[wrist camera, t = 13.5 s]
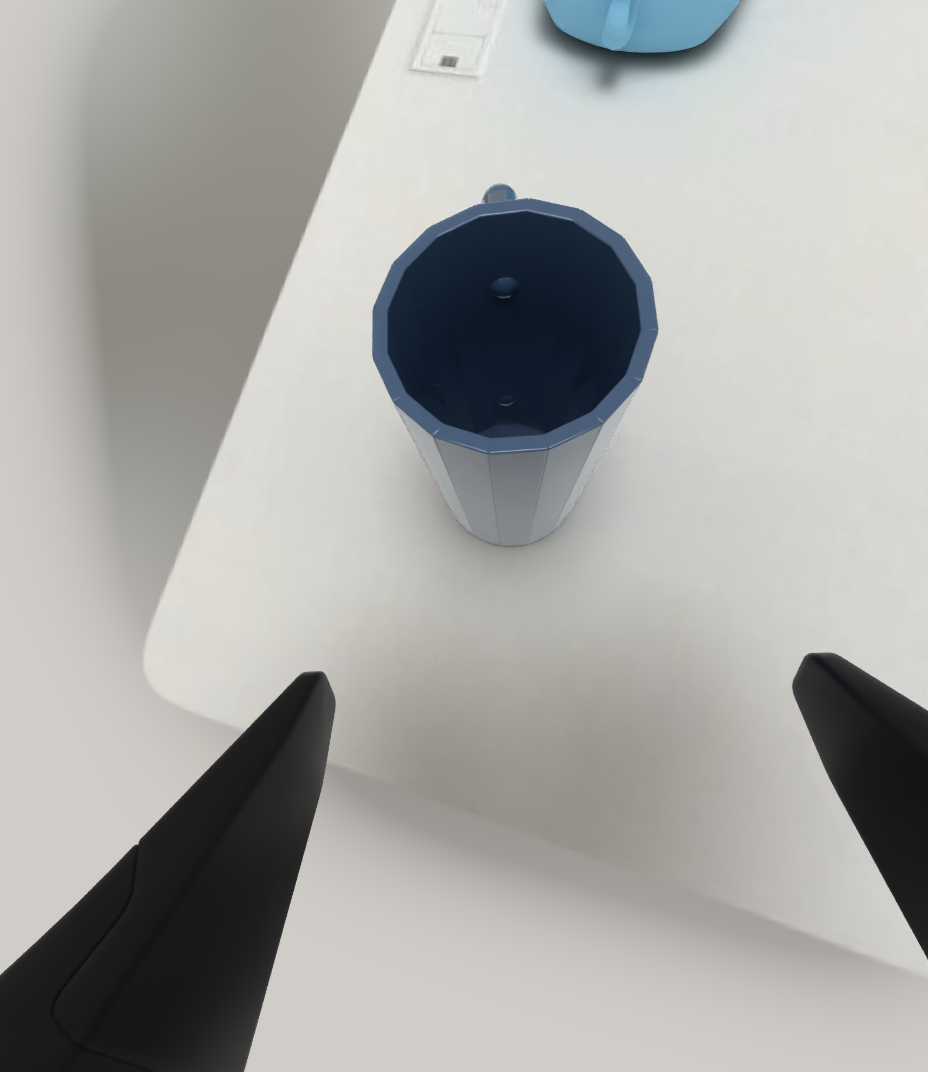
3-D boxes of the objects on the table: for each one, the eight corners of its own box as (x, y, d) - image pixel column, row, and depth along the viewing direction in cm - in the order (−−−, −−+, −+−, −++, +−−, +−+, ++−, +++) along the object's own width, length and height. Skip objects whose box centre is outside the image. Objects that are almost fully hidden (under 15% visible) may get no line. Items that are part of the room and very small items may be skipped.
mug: (581, 543, 22) (674, 440, 10) (447, 550, 23) (371, 462, 10) (565, 362, 24) (626, 81, 12) (442, 373, 25) (372, 118, 12)
